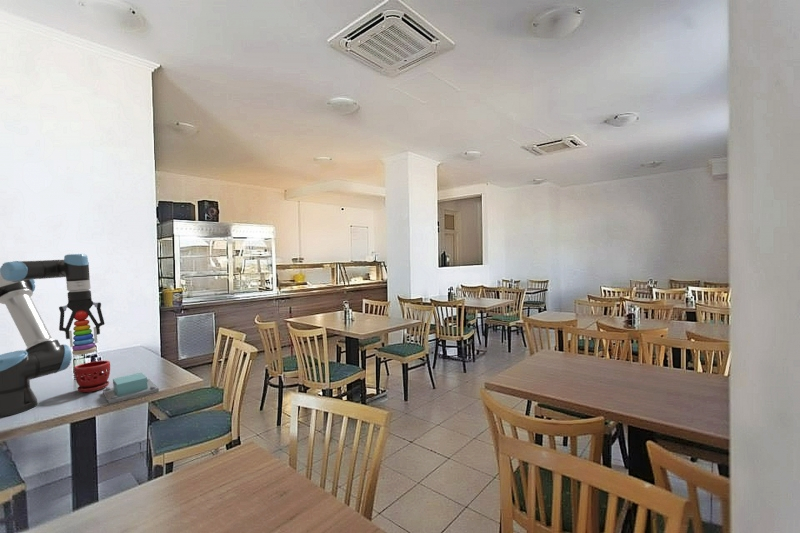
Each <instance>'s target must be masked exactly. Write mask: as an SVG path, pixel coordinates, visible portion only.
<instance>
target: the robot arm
mask: <svg viewBox="0 0 800 533" xmlns="http://www.w3.org/2000/svg"><path fill="white" fill-rule="evenodd" d="M89 264H90V263H89V259H88V255H87V254H85V253H78V254H77V253H75V254H74V253H72V254H70V253H69V254H65V255H64V258H63V259H48V260H47V259H46V260H23V261H20V260H15V261H14V260H13V261H7V262H4V263H2V265H1V266H0V304H2V305H5V306H6V309H7V310H8V313H9V314H10V316H11V318H12V321H13V322H14V325H15V326H16V328H17V330H18V332H19V335H20V336H21V339H22V340H23V342H24V343H25V346H26V348H25V350H23V349H21V350H15V351H9V352H6V353H2V354H0V418H2V416H3V417H7V415H8V416H12V415H16V414H19V413H23V412H25V411H28V410H31V409H33V408H34V407H36V406H37V405H38V399H37V398H38V397H37V396H36V395H35V393H34V391H33V390H32V388H31V383H30V381H31V380H34V379H37V378H41V377H45V376H48V375H52V374H57V373H59V372H62V371H65V370H66V369H68V368H70V365H71V363H72V358H73V354H72V350H71V348H72V347H73V346H74V344H73V333H72V332H73V330H70V329H71V326H72V324H73V323H74V320H75V319H74V317H75V315H76V312H78V311H81V310H82V311H86V312H87V313H88V315H89V316H88V318H90V320H91V321H92V323H93V324H94V325H95V326H93V327H92V328H93V338H94V343H95V344H98V335H100V334H101V329H100V327H101V326H104V325H105V324H106V322H105V321H104V320H105V319H104V317H103V313H102V308H101V307H102V303H101V302H100V301H99V302H94V301H93V300H92V291H91V288H92V287H91V280H90V278H91V276H90V265H89ZM59 278H61V279H62V278H65V282H66V290H67V291H68V292H67V293H66V294H67V304H66V305H63V306H62V305H61V306H58V310H59V312H60V314H59V315H60V316H59V327H58V330H59V331H60V332H61V331H62V332H64V333H65V339H66V340H69V345H68V344H64V343H63V344H61V343H60V341H59V340H58V339H56V338H52V336H51V334H50V331H49V330H48V329H47V326H46V324H45V323H44V320H43V318H42V316H41V315H40V313H39V311H38V309H37V307H36V305H35V303H34V301H33V299H32V298H31V297H32V296H33V294H34V291H35V289H36V285H35V283H36V282H35V280H45V279H59ZM93 306H94V308H96V312H97V315H98V320H99V322H98V321H97V319H96V317H95V316H94V315H93V313H92V312H91V310H90V309H91V308H92V307H93ZM67 309H69V310H70V311H71V313H70V316H69V319H68V321H67V323H66V326H65V327H64V322H65V312H66V311H67Z"/></svg>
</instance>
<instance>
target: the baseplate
mask: <svg viewBox="0 0 800 533" xmlns="http://www.w3.org/2000/svg"><path fill="white" fill-rule="evenodd" d="M112 386H113V387H111V386H107V387H105V388H104V389H102V393H103V395H104V397H105V399H106V401H107V402H108V404H109V405H110V404H115V403H119V402H122V401H126V400H131V399H134V398H139V397H142V396H147V395H150V394H154V393H159V391H160V388H159V387H157V385H156V384H155V383H154V382H153V381H152V380H150V378H148V377H147V376H146V375H145V374H144V373H143V372H139V373H133V374H129V375H125V376H120V377H115V378H113V379H112Z"/></svg>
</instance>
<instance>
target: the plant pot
mask: <svg viewBox="0 0 800 533" xmlns="http://www.w3.org/2000/svg"><path fill="white" fill-rule="evenodd" d="M73 370H74V371H73V373H74V379H75V381H76V383H77V385H78V387H77V391H79V392H80V393H89V392H90V393H91V392H92V393H93V392H96V391H99V390H104V389H106V388H107V387H109V384H110V382H109V378H110V374H111V361H109V360H97V361H91V362H90V361H89V362H85V363H81V364H78V365H76V366H74V368H73Z"/></svg>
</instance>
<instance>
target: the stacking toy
mask: <svg viewBox="0 0 800 533" xmlns="http://www.w3.org/2000/svg"><path fill="white" fill-rule="evenodd" d="M88 318H89V315H88V313H87V312H86V311H82V310H81V311H78V312H76V315H75V317H74V319H73V320H75V321H73V325H74V326H73V330H72V332H73V333H72V335H73V336H72V342H73V347H71V348H72V351H71V353H72V355H74V356H82V355H87V354H91V353H94V352H96V351H97V349H98V348H97V346H96V343H95V339H94V333H92V332H93V330H92V329H91V325H90V320H89V319H88Z"/></svg>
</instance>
